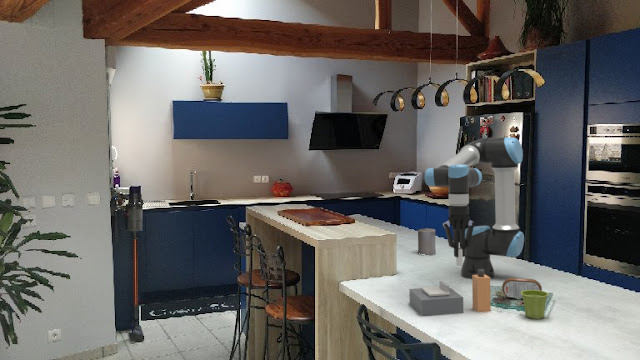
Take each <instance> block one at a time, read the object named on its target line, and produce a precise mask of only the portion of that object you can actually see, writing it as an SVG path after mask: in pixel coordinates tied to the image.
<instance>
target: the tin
mask: <svg viewBox="0 0 640 360" xmlns="http://www.w3.org/2000/svg"><path fill="white" fill-rule="evenodd" d="M501 288H502V293H503V295H504V296H505V297H506V298H508V297H514V298H522V294H521V292H522V291H525V290H539V291H543V288H542V285H541V283H540V282H539V281H538V280H537V279H533V278H524V277H523V278H521V277H520V278H519V277H510V278H507V279H505V280H504V281H503V282H502V286H501Z"/></svg>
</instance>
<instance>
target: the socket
mask: <svg viewBox="0 0 640 360" xmlns="http://www.w3.org/2000/svg"><path fill="white" fill-rule="evenodd" d="M421 288H422V287H421ZM421 288H420V287H419V288H409V305H410V306H411V307H413V309H415V311H416V312H418V314H419V315H421V317H428V316H430V317H431V316H440V315H442V316H443V315H452V314H453V315H454V314H455V315H456V314H464V296H462V295H461V294H460V293H458V292H456V290H454V289H452V288H451V287H450V286H449V293H450V295H444V296H428V295H427V294H426V293H425V292H424V291H423V290H421Z"/></svg>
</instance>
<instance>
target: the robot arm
mask: <svg viewBox="0 0 640 360" xmlns="http://www.w3.org/2000/svg"><path fill="white" fill-rule="evenodd" d="M523 152H524V151H523V148H522V144H521V141H519V139H518V138H516V137H511V136H510V137H507V136H505V137H484V138H479V139H476V140H474V141H471V142H470V143H467V144H466V145H464V146H463V147H462V148H461V149H460V150H459V152H457V154H455V155H453V156H452V157H451V158H449V159H448V160H447V161H445V162H444V163H443V164H441V165H439V166H438V167H429V168H427V169H425V173H424V182H425V185H427V186H429V187H435V188H436V187H441V188H442V187H444V188H445V187H447V188H448V204H449V206H448V218H447V221H444V222H443V223H442V224H441V225H442V227H443V229H444V231H445V235H446V240H447V242H448V246H449V247H450V248H453V256H454V258H455V259H456V260H455V261H456V263H455V265H457V266H458V267H461V270H460V276H462V277H464V278H467V279H472V275H478V269H484V274H485V275H487V276H489V277H490V279H492V278H494V277H495V270H494V266H493V263H492V261H491V256H499V257H507V258H509V257H511V258H517V257H518V256H520V254H521V253H522V250H523V248H524V243H525V235H524V233H523V232H522V231H520V226H519V225H518V224H517V223H516V181H515V180H516V179H515V178H516V177H515V173H516V170H517V169H518V168H519V164H522V162H523V157H524V153H523ZM477 164H490V169H492V170H493V172H494V201H495V202H494V203H495V205H494V206H495V208H494V210H495V223H494V225H492V227H490V225H478V226H477V225H476V224H477V223H476V221H473V220H471V218H470V205H469V204H470V197H469V196H470V194H469V193H470V191H469V190H470V189H469V188H474V187H476V186H478V185H480V183H481V182H482V181H483V175H482V172H481V171H480V170H479V169H478V168H476V167H475V168H474V167H473V166H475V165H477ZM470 166H471V167H470ZM450 226H451V227H452V232H451V229H450ZM452 235H453V236H452ZM463 257H464V260H463Z"/></svg>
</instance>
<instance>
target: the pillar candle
mask: <svg viewBox="0 0 640 360" xmlns="http://www.w3.org/2000/svg"><path fill="white" fill-rule="evenodd" d="M417 249H418V250H417V251H418V252H417V254H418V253H420V254H425V255H430V256H434V255H436V229H434V228H428V227H426V228H420V229H418V230H417ZM433 254H434V255H433Z"/></svg>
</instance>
